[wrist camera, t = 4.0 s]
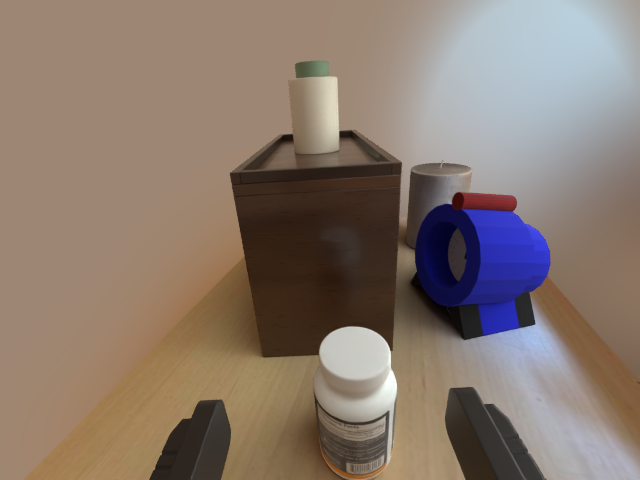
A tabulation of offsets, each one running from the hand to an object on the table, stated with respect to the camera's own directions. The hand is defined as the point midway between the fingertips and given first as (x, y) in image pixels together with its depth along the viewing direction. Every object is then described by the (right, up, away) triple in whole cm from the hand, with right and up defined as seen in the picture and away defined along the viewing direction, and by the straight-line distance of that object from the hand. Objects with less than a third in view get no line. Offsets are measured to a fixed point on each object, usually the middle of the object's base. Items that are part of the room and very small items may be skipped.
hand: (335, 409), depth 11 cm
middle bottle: (-1, +18, +29) cm, 35 cm away
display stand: (0, +1, +37) cm, 37 cm away
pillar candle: (+20, +5, +45) cm, 50 cm away
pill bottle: (+2, -10, +13) cm, 17 cm away
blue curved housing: (+19, -2, +29) cm, 35 cm away
